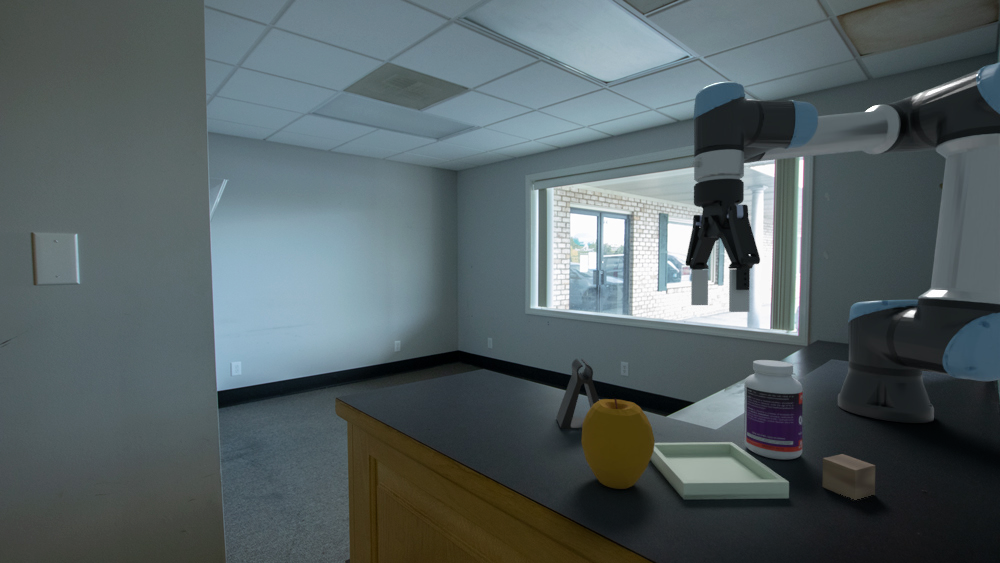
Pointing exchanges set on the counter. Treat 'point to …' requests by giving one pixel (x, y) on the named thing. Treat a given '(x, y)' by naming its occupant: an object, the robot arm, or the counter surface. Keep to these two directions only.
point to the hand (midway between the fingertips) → (717, 308)
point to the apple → (617, 442)
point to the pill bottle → (773, 411)
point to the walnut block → (849, 476)
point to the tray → (716, 472)
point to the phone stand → (576, 396)
